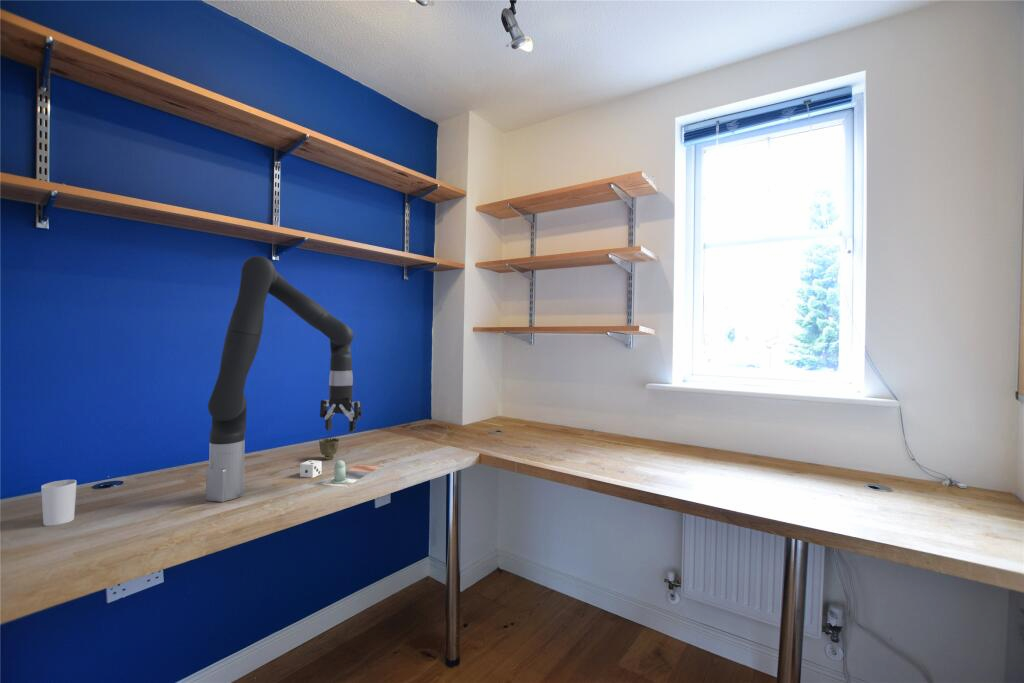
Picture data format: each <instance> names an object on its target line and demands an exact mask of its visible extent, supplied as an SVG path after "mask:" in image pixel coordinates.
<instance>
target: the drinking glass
mask: <svg viewBox="0 0 1024 683" xmlns="http://www.w3.org/2000/svg"><path fill="white" fill-rule="evenodd" d="M77 484H78V483H77V480H76V479H63V480H62V479H61V480H55V481H51V482H48V483H44V484H42V485H41V486H40V487H41V489H40V490H41V504H42V522H43V525H44V526H46V527H50V526H51V527H52V526H58V525H64V524H67V523H69V522H72V521H73V520H75V510H76V509H75V508H76V496H77V495H76V494H77Z"/></svg>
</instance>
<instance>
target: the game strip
mask: <svg viewBox="0 0 1024 683" xmlns="http://www.w3.org/2000/svg"><path fill="white" fill-rule="evenodd" d="M381 467H383V468H385V467H384V466H383V465H381V466H380V465H374V464H373V465H370V464H360V463H357V464H356V465H355V466H353V467H351V468H349V469H347V470H346V473H345V478H347V479H348V482H346V483H344V484H332V480H333V479H334V476H333V477H332V478H330V479H327V480H326V481H323V482H321V485H325V486H334V487H345V488H347V487H349V486H350V485H352V484H353V483H355V482H357V481H359V480H361V479H362V478H364V477H365V476H367V475H369V474H370V473H373V472H374V471H376V470H377V469H380V468H381Z"/></svg>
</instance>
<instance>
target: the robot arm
mask: <svg viewBox="0 0 1024 683" xmlns="http://www.w3.org/2000/svg"><path fill="white" fill-rule="evenodd" d="M240 272H241V275H240V281H239V282H240V284H239V289H238V296H237V299H236V303H235V304H234V305H235V306H234V307H233V311H232V314H231V315H230V319H229V323H228V326H227V330H226V333H225V338H224V342H223V347H222V353H221V356H220V357H221V358H220V366H219V372H218V375H217V377H216V378H217V380H216V381H215V385H214V386H213V389H212V392H211V395H210V397H209V400H208V404H207V410H208V414H210V416H211V429H210V433H209V445H208V446H209V449H208V450H209V451H208V452H209V453H208V455H209V460H208V462H209V463H208V465H209V466H208V468H206V470H205V474H206V475H205V477H206V478H205V501H211V502H221V503H224V502H227V501H230V500H236V499H238V498H240V497H242V496H244V494H245V449H246V448H245V446H246V445H245V441H246V440H245V439H246V429H247V428H246V427H247V398H246V396H245V394H244V392H245V387H246V386H245V385H246V381H247V377H248V374H249V371H250V370H251V367H252V365H253V362H254V361H255V358H256V355H257V353H258V350H259V346H260V342H261V338H262V334H263V329H264V318H265V317H264V316H265V305H266V300H267V297H268V294H270V295H271V296H272V297H274V298H275V299H277V300H279V301H280V302H281V303H282V304H284V305H285V306H286V307H288V308H289V309H290V311H292V312H293V313H294V314H295V315H296V316H298V317H299V318H300V319H301V320H303V321H305V322H306V323H307V324H308V325H309V326H310V327H313V329H315V330H316V331H319V332H321V333H322V334H323V335H325V336H326V337H327V338H328V339H329V346H330V362H329V363H330V366H329V370H330V371H329V377H328V380H329V382H328V383H329V384H328V385H329V386H328V390H329V391H328V397H329V399H322V400H320V409H319V417H320V418H323V419H324V420H325V423H324V424H325V426H324V427H325V430H326V431H328V432H329V431H332V429H333V417H334V415H335V414H341V415H343V414H344V415H345V416H346V417H347V418H348V420H349V421H348V432H349V433H353V432H355V431H356V428H357V426H356V425H357V422H356V421H357V420H359V419H362V402H361V401H359V400H358V401H353V391H354V389H353V388H354V387H353V385H354V379H353V378H354V374H353V357H352V342H353V340H354V336H355V335H354V331H353V330H352V328H351V327H350V326H348V325H347V324H346V323H344V322H343V321H342V320H340V319H339V318H337V317H335V316H334V315H332V313H330V312H329V311H328V310H327V309H326V308H324V307H323V306H322V305H320V304H319V303H318V302H316V301H315V300H313V299H312V298H311V297H310V296H308V295H306V294H304V293H303V292H301V290H300V289H299V290H298V289H297V288H296V287H295V286H293V285H292V284H291V283H290V282H289V281H287V280H286V279H285V278H284V277H283V276H282V275H281V274H280V273H279V272H278V271H277V270H276V267H275V265H274V264H273V262H272V261H271V260H270V259H268V258H267V257H265V256H261V255H255V256H251V257H248V258H247V259H246V260H245V261H244V262H243V264H242V266H241V271H240ZM329 406H330V408H329ZM328 408H329V409H328Z"/></svg>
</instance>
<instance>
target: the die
mask: <svg viewBox="0 0 1024 683" xmlns="http://www.w3.org/2000/svg"><path fill="white" fill-rule="evenodd" d="M322 463H323V462H322V460H313V459H309V460H307V461H303V462H302V463H300V464H299V470H300V471H299V477H300V478H312V479H313V478H315V477H318V476H319V475H322V468H323V467H322V465H323V464H322Z"/></svg>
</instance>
